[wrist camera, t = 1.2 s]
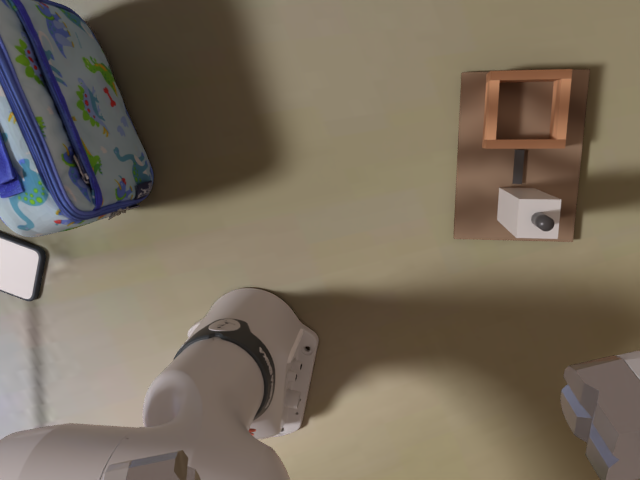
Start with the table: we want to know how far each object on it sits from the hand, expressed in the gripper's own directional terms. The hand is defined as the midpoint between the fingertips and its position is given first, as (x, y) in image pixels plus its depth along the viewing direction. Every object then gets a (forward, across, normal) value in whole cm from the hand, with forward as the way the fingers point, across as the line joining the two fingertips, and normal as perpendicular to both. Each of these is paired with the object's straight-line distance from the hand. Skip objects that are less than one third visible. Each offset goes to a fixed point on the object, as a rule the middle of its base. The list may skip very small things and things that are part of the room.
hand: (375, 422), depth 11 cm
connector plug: (+43, +23, -28) cm, 56 cm away
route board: (+46, +24, -23) cm, 57 cm away
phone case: (+60, -50, -29) cm, 83 cm away
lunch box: (+62, -26, -13) cm, 69 cm away
